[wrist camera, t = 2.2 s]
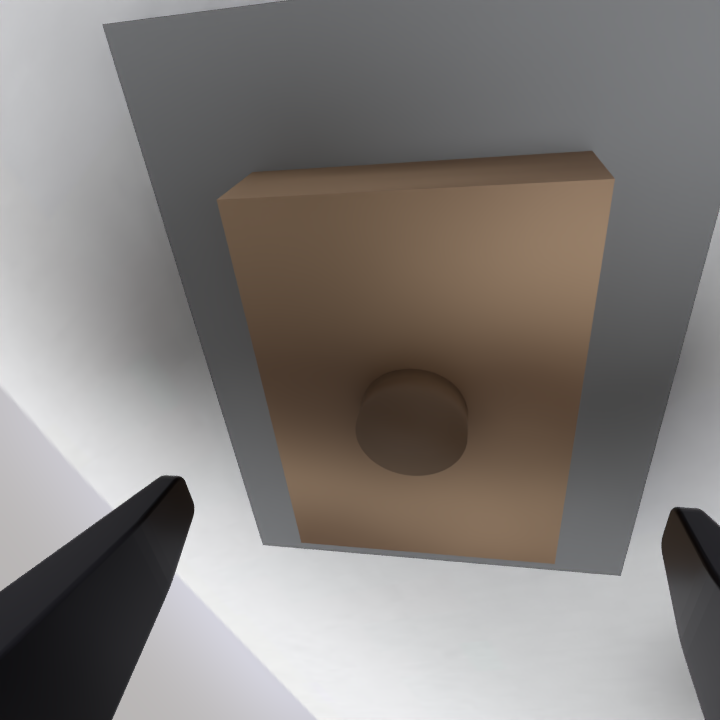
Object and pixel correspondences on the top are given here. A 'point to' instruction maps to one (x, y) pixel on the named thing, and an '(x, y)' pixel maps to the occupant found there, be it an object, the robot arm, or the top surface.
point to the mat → (447, 142)
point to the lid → (424, 343)
